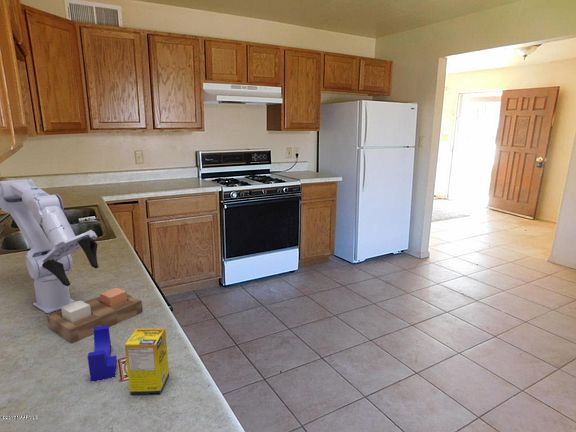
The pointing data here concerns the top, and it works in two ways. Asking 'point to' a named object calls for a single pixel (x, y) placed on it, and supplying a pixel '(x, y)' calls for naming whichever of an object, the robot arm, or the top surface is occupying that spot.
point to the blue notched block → (102, 356)
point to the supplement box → (147, 361)
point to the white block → (75, 311)
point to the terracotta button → (113, 297)
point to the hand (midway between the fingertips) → (81, 275)
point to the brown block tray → (94, 318)
